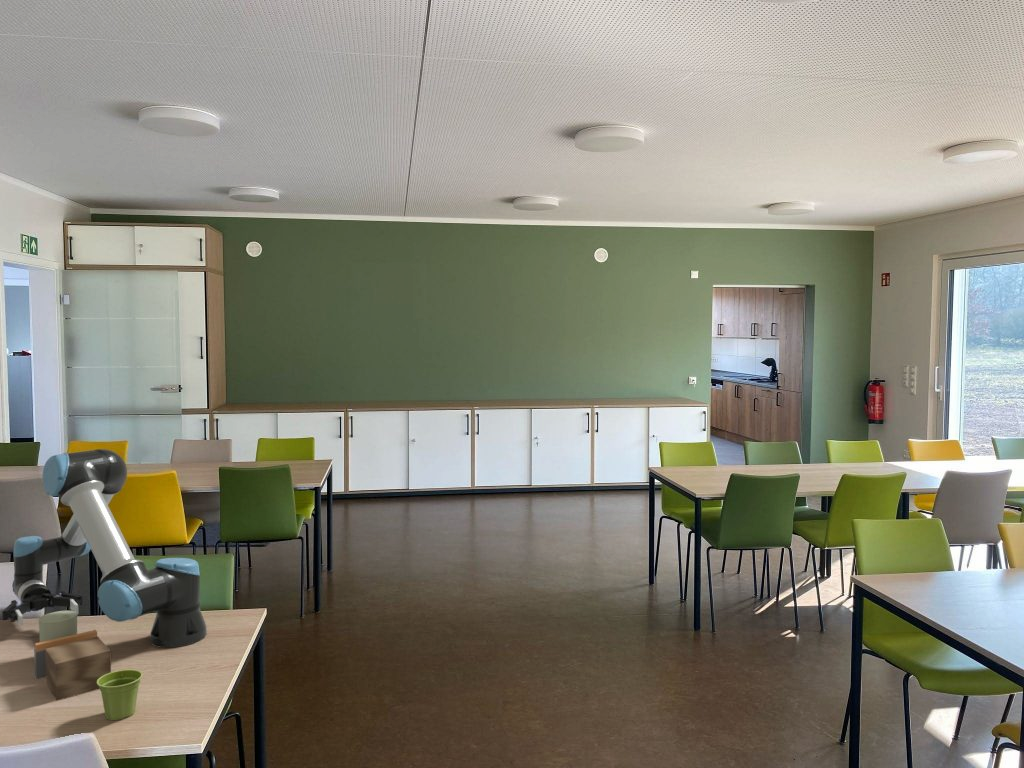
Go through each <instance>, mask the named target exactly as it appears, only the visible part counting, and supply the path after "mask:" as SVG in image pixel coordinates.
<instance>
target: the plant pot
mask: <svg viewBox="0 0 1024 768" xmlns="http://www.w3.org/2000/svg"><path fill="white" fill-rule="evenodd" d="M142 678H143V672H142V671H140V670H138V669H121V670H115V671H111V673H108V674H105V675H103V676H102V677H100V678H99V679H98V680H97V685H98V686H99V688H100V689H99V691H100V692H101V699H102V704H103V710H104V715H105V718H107V720H110V721H117V720H118V721H119V720H122V719H124V718H126V717H131V716H133V715H134V714H135V712H136V708H137V707H136V706H137V701H138V700H137V699H138V693H139V686H140V683H141V679H142Z"/></svg>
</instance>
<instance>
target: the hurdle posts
mask: <svg viewBox="0 0 1024 768" xmlns="http://www.w3.org/2000/svg"><path fill="white" fill-rule="evenodd" d="M97 637H99V636H98V635H97ZM33 650H34V651H33V652H34V655H33V657H34V677H35V676H36V677H35V679H37V678H38V679H42V678H45V677H44V676H46V663H45V650H40V651H36V650H35V648H34V649H33ZM41 677H42V678H41Z"/></svg>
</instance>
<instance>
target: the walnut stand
mask: <svg viewBox="0 0 1024 768" xmlns="http://www.w3.org/2000/svg"><path fill="white" fill-rule="evenodd" d="M111 657H112V655H111V650H110V649H109V647H108V646H107V645H106V644H105V643H104V641H102V640H101V638H100V637H99V636H98V637H94V638H90V639H86V640H81V641H77V642H73V643H68V644H64V645H60V646H55V647H51V648H47V649H45V663H46V677H45V684H46V686H47V687H49V688H48V689H49V690H50V693H51V694H52V695H53V698H54V699H55V701H59V700H64V699H68V698H72V697H74V695H75V696H78V694H79V695H82V694H86V693H90V692H92V691H97V690H100V688H99V686H98V685H97V680H98V679H99V678H100V677H102V676H103V675H105V674H108V673H111V672H112V667H111V665H112V664H111V662H112V660H111V659H112V658H111ZM67 697H68V698H67ZM63 698H64V699H63Z"/></svg>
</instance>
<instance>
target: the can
mask: <svg viewBox="0 0 1024 768" xmlns="http://www.w3.org/2000/svg"><path fill="white" fill-rule="evenodd" d="M38 631H39V633H38V634H39V635H38V636H39V642H44V641H48V640H53V639H57V638H62V637H66V636H70V635H75V634H78V614H77V612H75V611H72V610H60V611H59V610H58V611H53V612H50V613H46V614H43V615H42V616H40V617H39V618H38Z"/></svg>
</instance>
